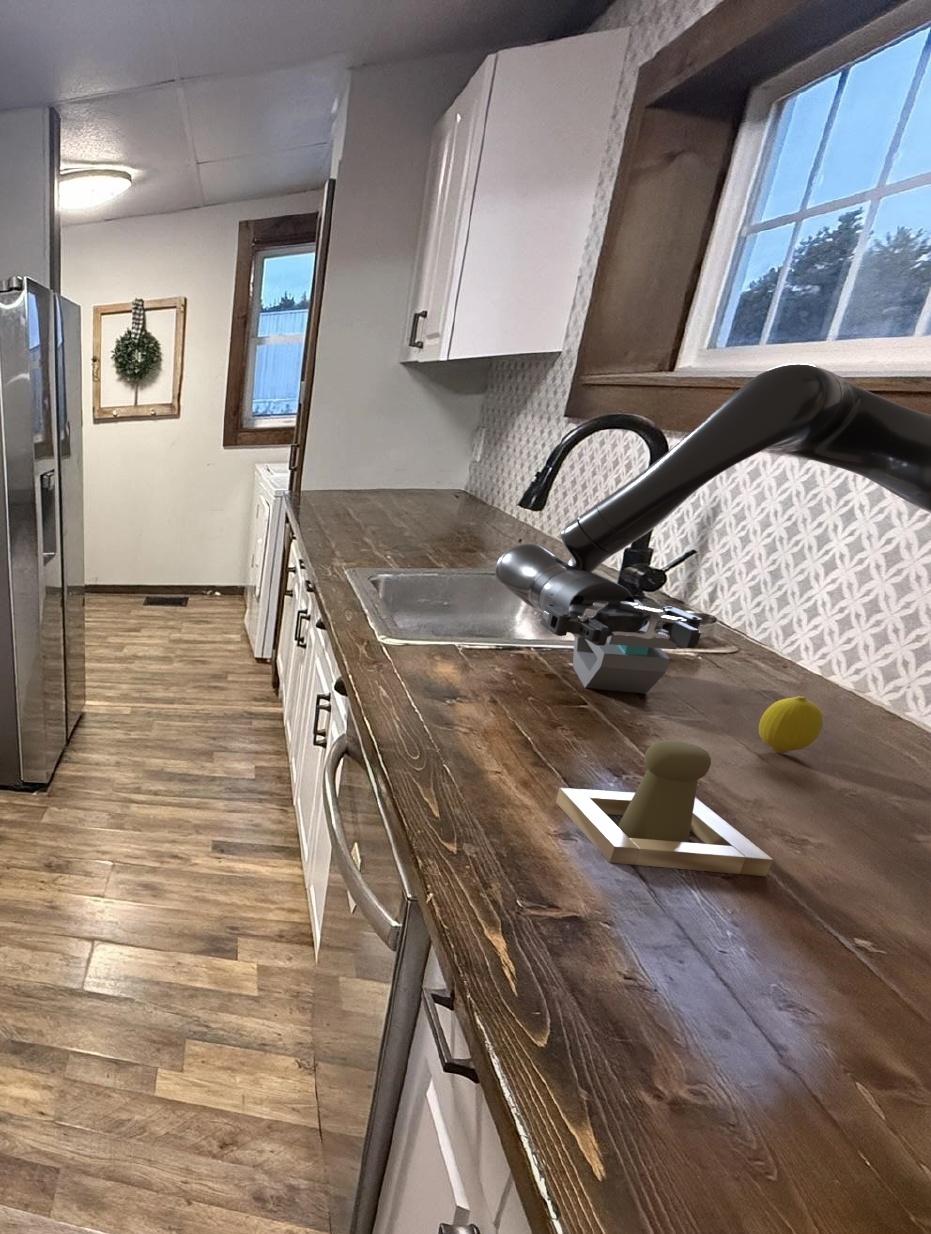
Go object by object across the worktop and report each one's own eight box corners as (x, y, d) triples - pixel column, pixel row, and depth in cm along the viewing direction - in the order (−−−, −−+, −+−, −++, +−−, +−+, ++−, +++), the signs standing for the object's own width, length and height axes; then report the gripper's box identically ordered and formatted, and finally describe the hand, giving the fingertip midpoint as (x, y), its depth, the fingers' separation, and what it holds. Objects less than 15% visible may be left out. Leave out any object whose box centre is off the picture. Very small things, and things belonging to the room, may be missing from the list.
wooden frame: (689, 811, 89) (695, 796, 88) (766, 876, 77) (773, 859, 76) (555, 802, 92) (559, 787, 92) (609, 862, 81) (614, 846, 80)
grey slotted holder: (657, 708, 117) (679, 639, 113) (592, 701, 120) (611, 634, 116) (620, 660, 137) (638, 600, 133) (566, 655, 140) (581, 597, 136)
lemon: (819, 764, 98) (843, 705, 95) (764, 759, 100) (786, 702, 97) (793, 746, 103) (815, 690, 100) (741, 742, 105) (761, 687, 102)
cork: (699, 854, 81) (733, 760, 77) (628, 846, 83) (658, 753, 79) (673, 826, 86) (704, 736, 82) (608, 819, 88) (635, 731, 84)
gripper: (528, 574, 102) (584, 605, 88) (656, 575, 98) (736, 608, 84) (515, 629, 105) (567, 667, 91) (639, 632, 101) (713, 672, 87)
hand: (648, 638), depth 87 cm, fingers open, 8 cm apart
